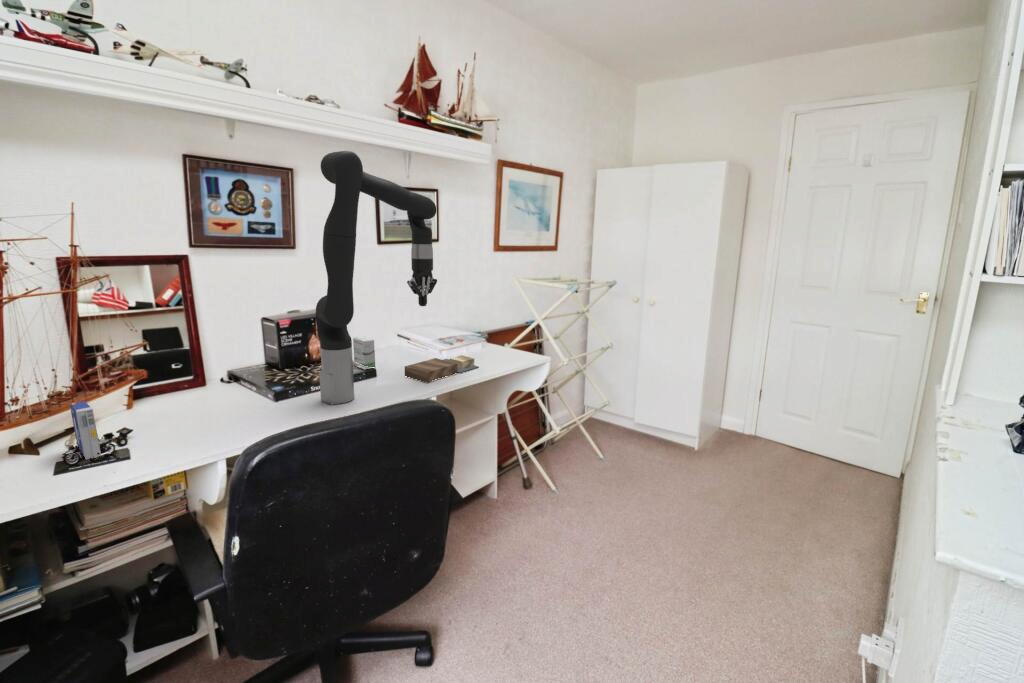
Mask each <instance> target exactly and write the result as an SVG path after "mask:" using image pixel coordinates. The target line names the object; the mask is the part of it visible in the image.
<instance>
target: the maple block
mask: <svg viewBox="0 0 1024 683" xmlns="http://www.w3.org/2000/svg"><path fill="white" fill-rule="evenodd" d="M449 359H450V362H453V363H457V364H458V368H461V369H464V368H467V367H471V366H474V365H475V358H474V357H470V356H466V355H462V354H461V355H458V356H457V355H456V356H454V357H453V356H452V357H449Z"/></svg>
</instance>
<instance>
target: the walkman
mask: <svg viewBox="0 0 1024 683" xmlns="http://www.w3.org/2000/svg"><path fill="white" fill-rule="evenodd" d="M69 408H70V414H71V418H72V424H73V429H74V435H75V436H74V437H75V440H76V445H78V446H77V448H78V447H79V449H80V450H81V452H82V454H83V455H82V454H81V455H82V457H83V456H84V457H85V458H84V457H83V458H84V459H85V461H86V460H90V458H91V459H95V458H99V456H100V457H102V453H101V448H100V442H99V437H98V436H99V435H98V430H97V424H96V420H95V413H94V409H93V408H92V407H91V406H90V405H89V403H87V402H86V401H85V400H84V401H78V402H71V403H70V404H69ZM93 457H94V458H93Z"/></svg>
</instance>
